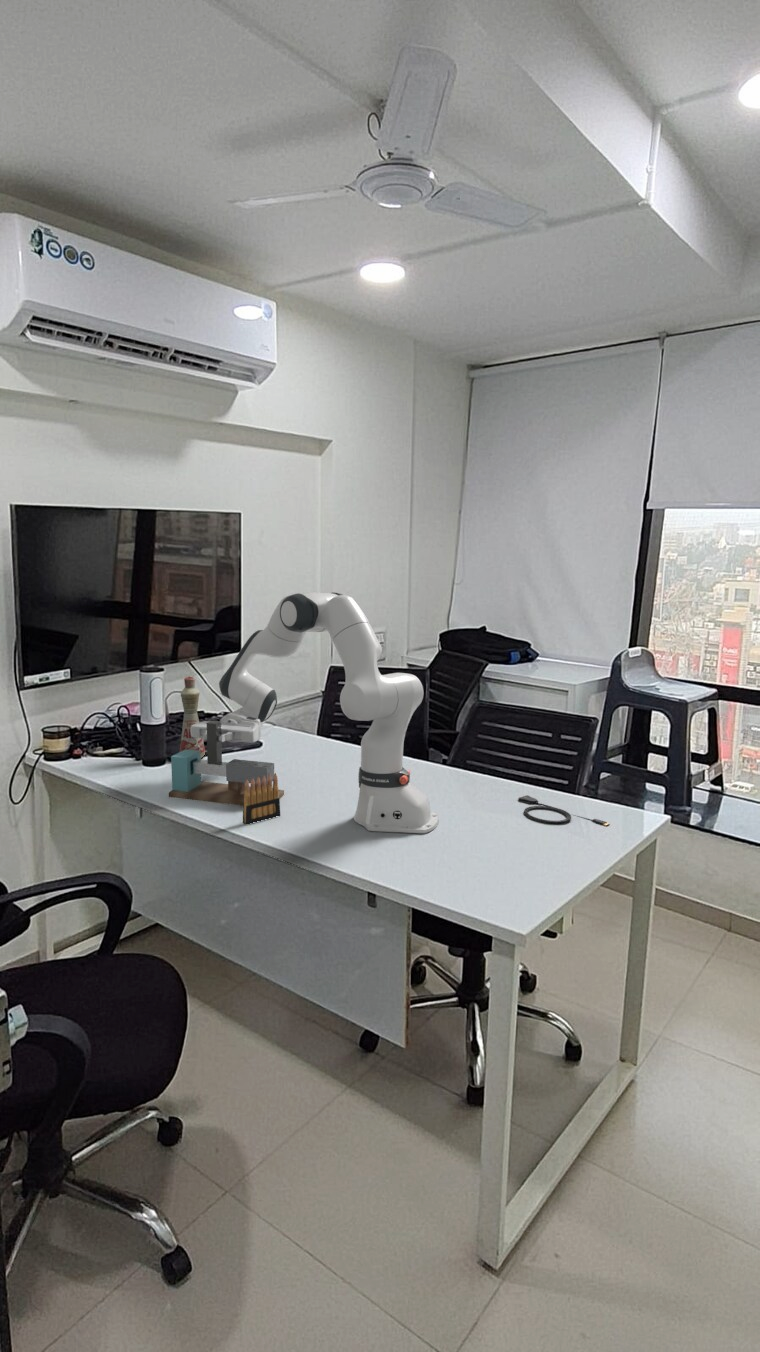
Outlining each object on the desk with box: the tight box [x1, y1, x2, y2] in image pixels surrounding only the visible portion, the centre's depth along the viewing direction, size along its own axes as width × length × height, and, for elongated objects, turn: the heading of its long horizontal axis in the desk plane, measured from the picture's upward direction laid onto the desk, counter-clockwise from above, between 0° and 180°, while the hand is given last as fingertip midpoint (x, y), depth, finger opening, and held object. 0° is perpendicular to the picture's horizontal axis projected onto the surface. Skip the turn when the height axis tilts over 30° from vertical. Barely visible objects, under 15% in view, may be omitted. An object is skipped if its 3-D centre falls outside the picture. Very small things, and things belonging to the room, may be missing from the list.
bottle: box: [179, 675, 206, 757], centre depth 259 cm, size 9×9×28 cm
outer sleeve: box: [225, 758, 275, 785], centre depth 220 cm, size 12×5×5 cm, turn 74°
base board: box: [168, 780, 285, 807], centre depth 223 cm, size 30×12×6 cm, turn 74°
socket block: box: [170, 749, 202, 792], centre depth 226 cm, size 5×8×10 cm, turn 164°
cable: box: [517, 795, 611, 827], centre depth 212 cm, size 14×28×2 cm, turn 41°
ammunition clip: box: [242, 772, 281, 825], centre depth 205 cm, size 11×2×12 cm, turn 132°
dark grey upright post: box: [193, 720, 228, 778], centre depth 221 cm, size 19×3×15 cm, turn 74°
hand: (212, 738), depth 221 cm, fingers closed on dark grey upright post, 3 cm apart
